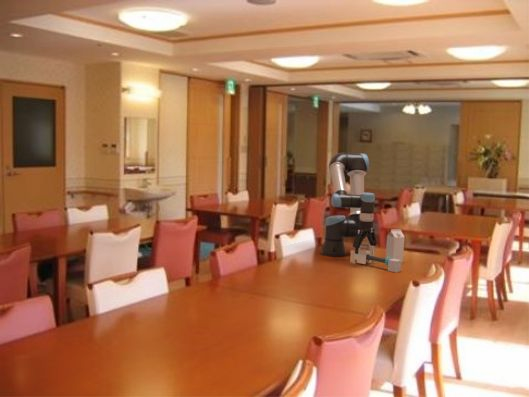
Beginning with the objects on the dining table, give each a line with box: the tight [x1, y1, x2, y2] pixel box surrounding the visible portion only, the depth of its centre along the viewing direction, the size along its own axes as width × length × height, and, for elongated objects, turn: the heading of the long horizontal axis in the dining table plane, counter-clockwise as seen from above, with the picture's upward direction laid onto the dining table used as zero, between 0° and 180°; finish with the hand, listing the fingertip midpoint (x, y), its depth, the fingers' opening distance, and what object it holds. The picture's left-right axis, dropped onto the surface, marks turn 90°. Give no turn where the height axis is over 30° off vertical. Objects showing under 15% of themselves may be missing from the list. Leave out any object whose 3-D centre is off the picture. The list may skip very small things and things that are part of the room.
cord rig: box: [349, 249, 402, 273], centre depth 312 cm, size 30×5×7 cm, turn 46°
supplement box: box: [359, 237, 375, 250], centre depth 332 cm, size 8×5×13 cm, turn 73°
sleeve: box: [356, 249, 372, 265], centre depth 317 cm, size 5×6×7 cm
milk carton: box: [385, 228, 405, 263], centre depth 328 cm, size 7×7×19 cm
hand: (364, 258), depth 317 cm, fingers open, 13 cm apart
